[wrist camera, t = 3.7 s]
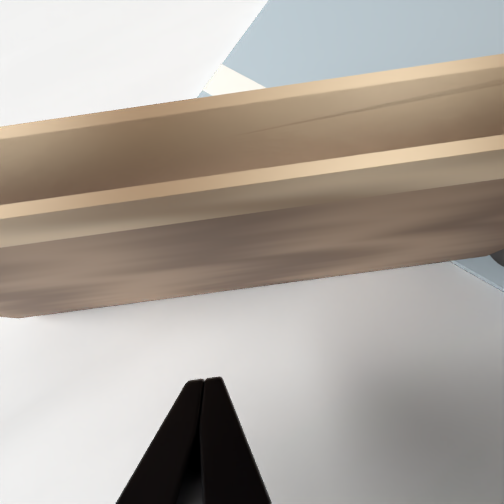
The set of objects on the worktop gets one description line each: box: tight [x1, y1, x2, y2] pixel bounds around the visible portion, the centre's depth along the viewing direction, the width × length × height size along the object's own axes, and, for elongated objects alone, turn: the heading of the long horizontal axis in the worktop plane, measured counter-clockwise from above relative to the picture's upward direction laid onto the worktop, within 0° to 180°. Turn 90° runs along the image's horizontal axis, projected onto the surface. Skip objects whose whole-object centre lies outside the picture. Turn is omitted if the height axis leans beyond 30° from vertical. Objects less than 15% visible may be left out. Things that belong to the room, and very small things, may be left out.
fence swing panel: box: [0, 54, 504, 318], centre depth 11 cm, size 19×1×11 cm, turn 97°
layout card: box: [197, 0, 504, 292], centre depth 19 cm, size 17×17×1 cm
